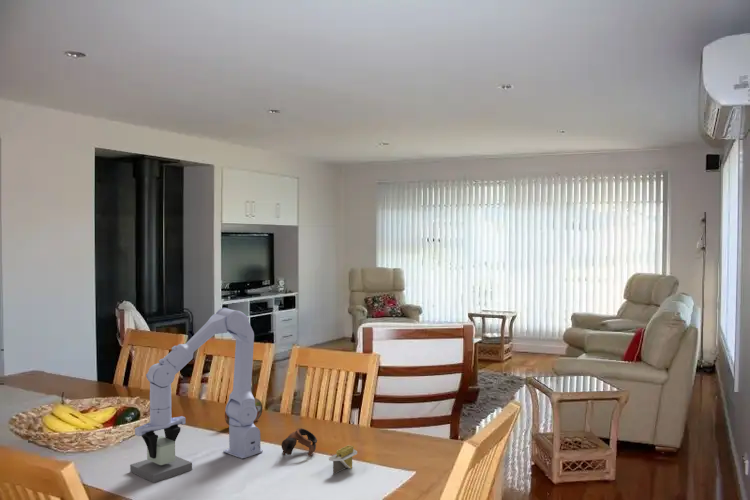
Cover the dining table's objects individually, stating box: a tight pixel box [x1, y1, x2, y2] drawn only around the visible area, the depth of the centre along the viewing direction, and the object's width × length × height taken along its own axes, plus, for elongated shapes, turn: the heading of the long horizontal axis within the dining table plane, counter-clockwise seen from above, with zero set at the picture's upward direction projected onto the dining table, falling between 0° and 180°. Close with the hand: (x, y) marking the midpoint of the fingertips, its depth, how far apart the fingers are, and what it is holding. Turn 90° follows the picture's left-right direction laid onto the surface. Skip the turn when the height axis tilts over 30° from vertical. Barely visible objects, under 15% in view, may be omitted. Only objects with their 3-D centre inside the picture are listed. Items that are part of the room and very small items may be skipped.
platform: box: [328, 444, 358, 475], centre depth 175 cm, size 12×18×7 cm, turn 146°
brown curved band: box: [281, 427, 318, 457], centre depth 188 cm, size 12×9×8 cm
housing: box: [146, 435, 176, 465], centre depth 175 cm, size 4×7×6 cm, turn 50°
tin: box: [224, 397, 263, 426], centre depth 218 cm, size 15×3×8 cm, turn 141°
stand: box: [129, 455, 193, 484], centre depth 175 cm, size 12×12×2 cm
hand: (161, 455), depth 175 cm, fingers closed on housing, 4 cm apart
